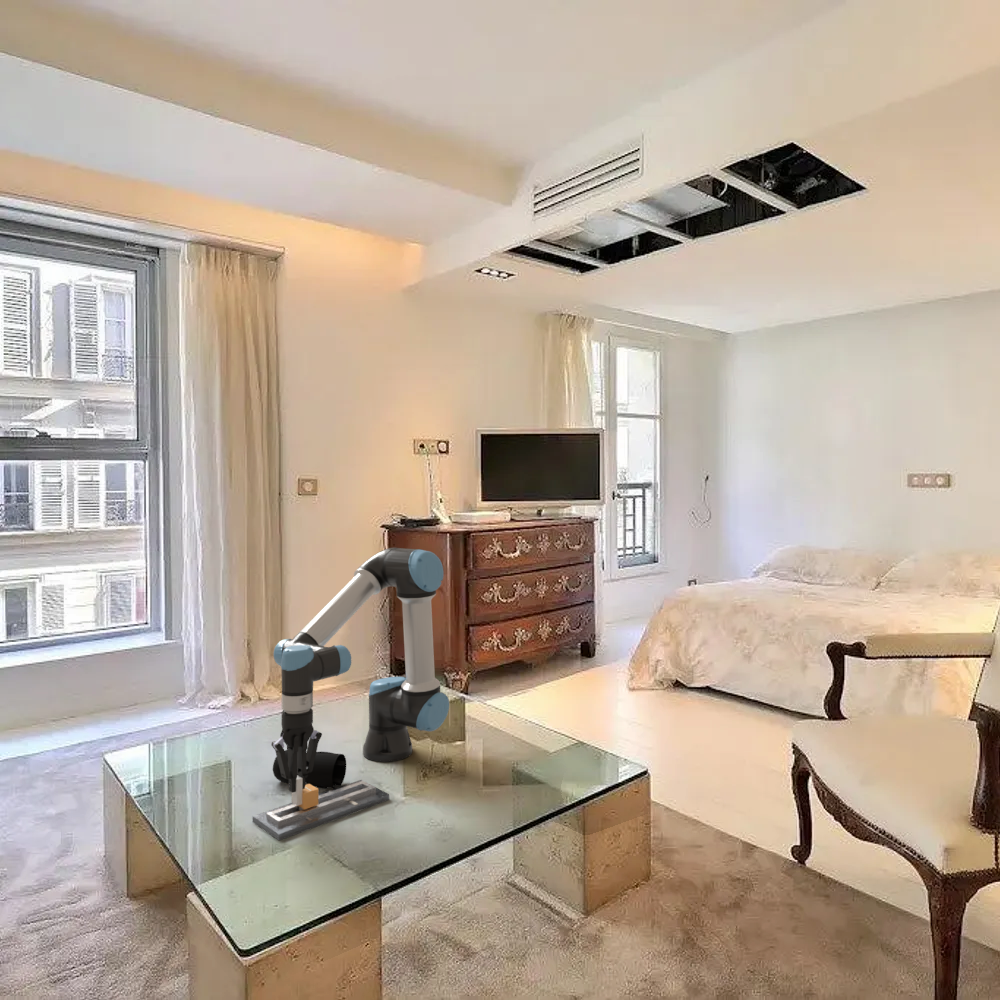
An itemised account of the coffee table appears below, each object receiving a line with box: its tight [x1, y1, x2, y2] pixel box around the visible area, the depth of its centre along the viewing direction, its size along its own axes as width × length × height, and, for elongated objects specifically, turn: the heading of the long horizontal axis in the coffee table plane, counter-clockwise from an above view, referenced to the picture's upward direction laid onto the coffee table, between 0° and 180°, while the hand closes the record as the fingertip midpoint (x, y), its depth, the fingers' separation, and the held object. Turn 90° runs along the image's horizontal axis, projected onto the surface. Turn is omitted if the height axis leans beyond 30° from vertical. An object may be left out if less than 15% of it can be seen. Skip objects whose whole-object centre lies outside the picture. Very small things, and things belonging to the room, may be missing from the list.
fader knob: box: [298, 783, 320, 810], centre depth 185 cm, size 4×4×5 cm
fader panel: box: [252, 779, 390, 841], centre depth 189 cm, size 32×13×3 cm, turn 135°
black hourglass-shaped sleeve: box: [272, 749, 347, 789], centre depth 205 cm, size 9×9×20 cm
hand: (296, 803), depth 183 cm, fingers closed
